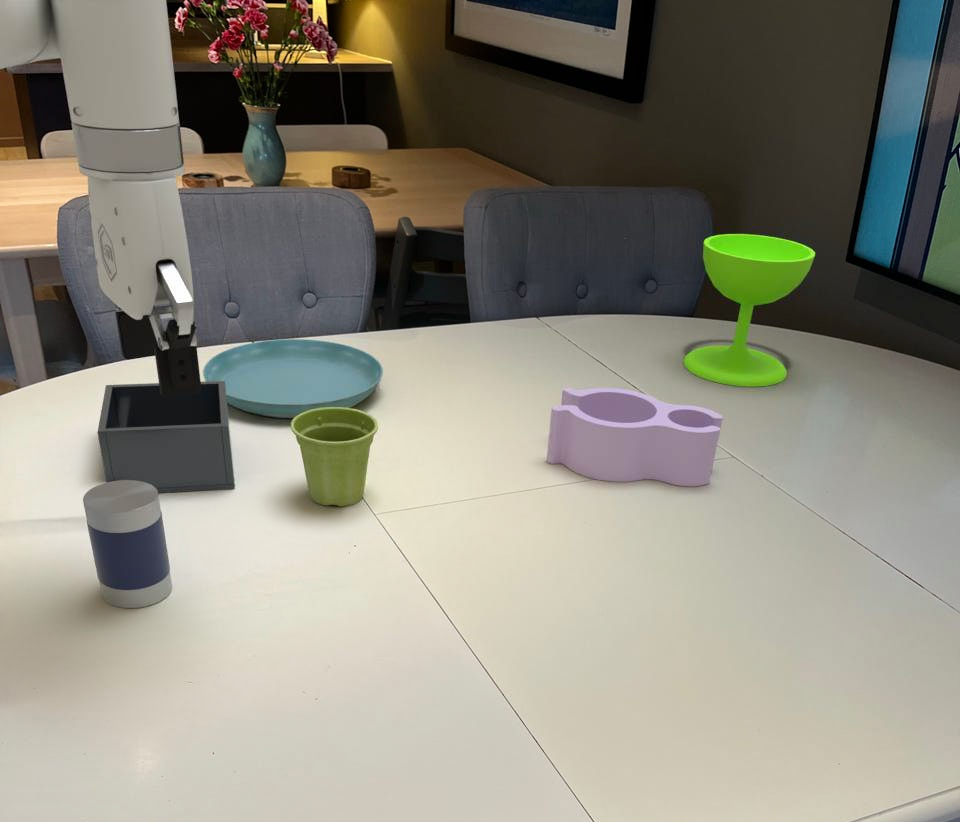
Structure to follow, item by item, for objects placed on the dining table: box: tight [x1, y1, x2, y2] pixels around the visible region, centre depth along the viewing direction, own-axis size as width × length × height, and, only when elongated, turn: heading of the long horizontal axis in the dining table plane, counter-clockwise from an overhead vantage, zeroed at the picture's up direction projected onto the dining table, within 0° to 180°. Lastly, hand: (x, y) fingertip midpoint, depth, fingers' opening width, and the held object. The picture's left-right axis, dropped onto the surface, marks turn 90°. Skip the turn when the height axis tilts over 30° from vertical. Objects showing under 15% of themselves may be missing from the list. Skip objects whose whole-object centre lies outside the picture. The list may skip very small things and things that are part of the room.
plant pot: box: [290, 407, 379, 507], centre depth 110 cm, size 9×9×9 cm
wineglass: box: [682, 233, 816, 388], centre depth 149 cm, size 16×16×18 cm
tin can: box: [82, 480, 173, 609], centre depth 91 cm, size 6×6×10 cm
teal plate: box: [202, 338, 384, 419], centre depth 136 cm, size 24×24×3 cm
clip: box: [546, 387, 724, 487], centre depth 121 cm, size 20×12×7 cm, turn 74°
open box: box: [97, 381, 236, 494], centre depth 114 cm, size 14×14×8 cm
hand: (160, 374), depth 83 cm, fingers open, 9 cm apart
